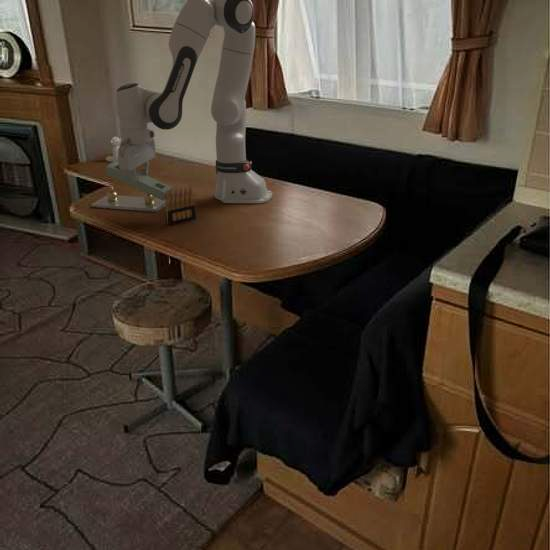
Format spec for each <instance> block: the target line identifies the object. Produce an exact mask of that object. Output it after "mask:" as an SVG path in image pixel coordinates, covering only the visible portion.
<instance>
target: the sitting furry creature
mask: <svg viewBox="0 0 550 550" xmlns="http://www.w3.org/2000/svg"><path fill="white" fill-rule="evenodd" d="M121 142H122V141H121V137H118V136H113V137H111V139H110V144H111V146H112V151H111V152H112V155H108V156H106V157H105V160H106V162H109V163H113V162H114V161H116V162H118V149H119V146H120V145H121Z"/></svg>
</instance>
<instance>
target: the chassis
mask: <svg viewBox="0 0 550 550" xmlns="http://www.w3.org/2000/svg"><path fill="white" fill-rule="evenodd" d="M108 188H109V191H107V192H106V195H104V196H103V197H102V198H100V199H97V200H96V201H94V202H93V203H91V207H92V206H96V207H102V208H101V209H107V208H109V209H108V210H120V211H121V210H122V211H135V212H149V213H158V212H159V211H161V210H162V209H163V208H166V204H165V202H166V199H165V200H164V201H163V200H160V199H158V198H156V197H154V196H152V195H150V194H147V193H145V194H144V195H143V196H133V195H131V196H130V195H129V196H128V195H118V192H117V191H115V189H114V185H109V187H108Z"/></svg>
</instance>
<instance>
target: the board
mask: <svg viewBox="0 0 550 550" xmlns="http://www.w3.org/2000/svg"><path fill="white" fill-rule="evenodd" d="M135 172H136V174H137V175H138V180H137V181H132V179H131V175H130V173H129V172H128V171H121V170H120V169H119V164H118V162H116V161H114V162H110V163H109V164H108V165H106V167H105V172H104V174H105V175H107V176H109V177H111V178H113V179H116V180H117V181H120V182H121V183H124V184H126V185H128V186H129V187H132V188H135V189H137V190H139V191H141V192H143V193H145V194H150V195H152V196H154V198H158V199H160V200H163V201H164V200H165V199H166V197H165V194H166V190H167V191H168V194H169V197H170V191H171V189H172V190H173V188H174V187H173V186H171V185H168V184H166V183H164V182H161V181H160V180H157V179H155V178H153V177H151V176H149V175H148V174H147V175H145V174H143V173H142V172H140V171H138V170H136V171H135Z"/></svg>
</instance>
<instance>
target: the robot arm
mask: <svg viewBox="0 0 550 550" xmlns="http://www.w3.org/2000/svg"><path fill="white" fill-rule="evenodd" d="M254 13H255V11H254V5H253V2H252V0H186V2H185V3H184V5H183V6H182V8H181V10H180V12H179V13H178V16H177V17H176V20H175V22H174V24H173V27H172V29H171V32H170V35H169V40H168V47H169V51H170V53H171V57H172V66H171V69H170V70H171V71H170V72H169V75H168V78H167V81H166V83H165V86H164V89H163V90H162V92H157V91H153V90H150V89H148V88H146V87H144V86H141V84H139V83H135V82H134V83H133V82H132V83H128V84H124V85H121V86H120V87H118V89H116V92H115V103H116V104H115V106H116V114H117V116H118V119H119V134H120V138H121V141H120V142H121V143H120V145H119V149H118V164H119V169H120V170H121V171H128V172H129V173H130V175H131V179H132V181H137V180H138V175H137V174H136V172H135V171H137V168H138V167H140V166H141V168H142V169H141V172H140V173H143V174H145V175H147V176H148V174H149V165H150V162H149V161H151V160H153V159H155V157H156V141H155V139H154V138H155V135H156V133H155V131H154V130H152V129H149V128H148V123H149V124H150V123H153V125H154V126H155V127H157V128H158V129H160V130H163V131H167V130H173V129H174V128H176V127H177V126H178V125H179V124H180V122H181V121H182V116H183V102H184V99H185V95H186V92H187V90H188V86H189V84H190V81H191V78H192V76H193V73H194V70H195V68H196V65H197V62H198V60H199V58H200V56H201V53H202V51H203V50H204V48H205V45H206V43H207V41H208V38H209V36H210V33H211V30H212V28H214V27H215V26H218V27H219V26H220V27H223V31H224V32H223V33H224V37H223V42H222V46H221V52H220V53H221V54H220V60H219V69H218V72H217V77H216V82H215V87H214V90H213V96H212V102H211V108H210V112H211V113H210V114H211V117H212V118H213V120H214V121H215V122H216V132H215V151H216V160H215V172H216V185H215V186H216V187H215V192H214V198H215V199H217V200H219V201H221V202H222V203H223V204H265V203H266V202H269V201H270V200H271V199H272V198H273V191H271V190H270V189H269V190H268V189H267V183H266V181H265V179H264V178H263V177H262V176H261V175H259V174H258V173H257V172H255V171H254V170H252V164H253V163H252V160H251V161H249V160H248V159H247V153H246V130H247V129H246V128H247V127H246V125H247V102H246V94H247V89H248V85H249V80H250V77H251V71H252V65H253V59H254V52H255V45H256V25H255V22H254Z"/></svg>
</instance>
